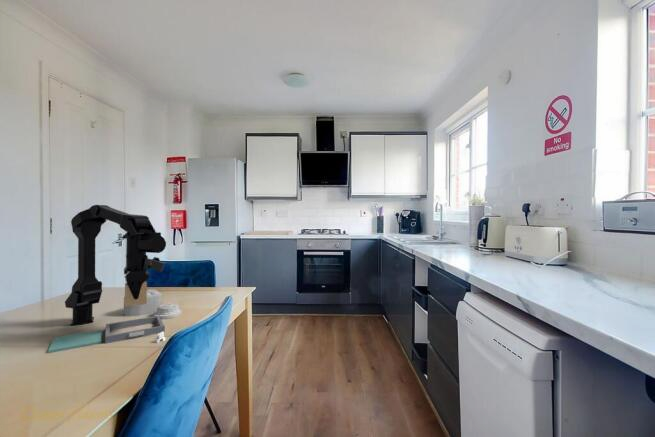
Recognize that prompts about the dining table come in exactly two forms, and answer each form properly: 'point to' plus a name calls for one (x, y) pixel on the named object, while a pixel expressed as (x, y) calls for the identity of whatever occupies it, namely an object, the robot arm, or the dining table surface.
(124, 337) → the grey tapered frame
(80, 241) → the robot arm
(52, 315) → the dining table surface
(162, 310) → the mechanical component
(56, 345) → the service mat
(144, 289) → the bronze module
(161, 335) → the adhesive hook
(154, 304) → the lumpy-topped squat cylinder
